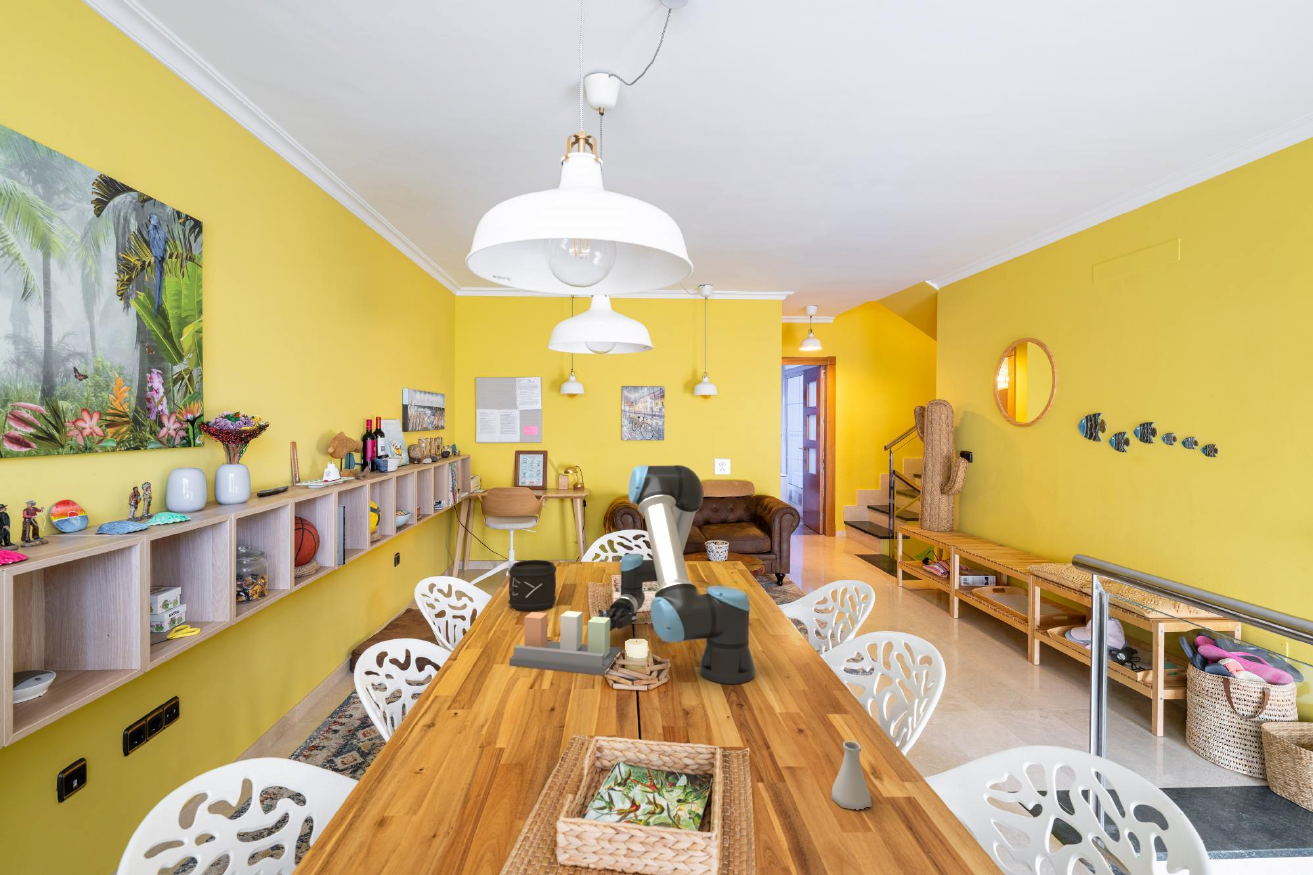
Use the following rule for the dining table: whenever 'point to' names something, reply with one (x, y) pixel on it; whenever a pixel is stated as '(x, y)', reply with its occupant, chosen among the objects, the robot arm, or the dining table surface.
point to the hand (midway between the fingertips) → (601, 631)
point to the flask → (851, 780)
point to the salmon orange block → (536, 629)
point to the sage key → (599, 635)
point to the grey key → (571, 630)
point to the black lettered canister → (532, 585)
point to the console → (563, 658)
